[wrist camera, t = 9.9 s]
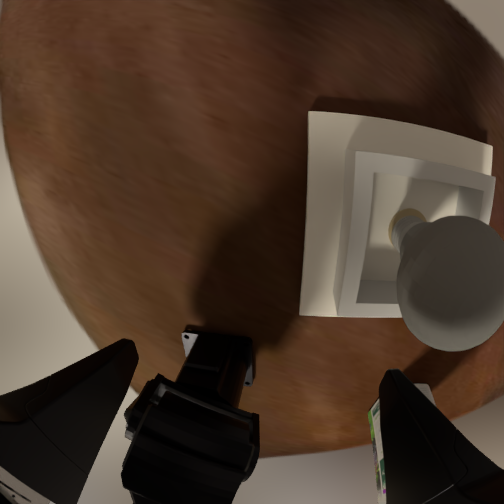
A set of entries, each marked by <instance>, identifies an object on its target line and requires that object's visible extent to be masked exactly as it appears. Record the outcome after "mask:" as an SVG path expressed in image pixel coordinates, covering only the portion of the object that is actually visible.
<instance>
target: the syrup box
mask: <svg viewBox="0 0 504 504" xmlns="http://www.w3.org/2000/svg"><path fill="white" fill-rule="evenodd" d="M414 385H415V386H416V387H417V388H418V389H419V390H420V391H421V392H422V393H423V394H424V395H425V396H426V397H427V398H428V399H429V400H430V401H431V402H432V403H433V404H434V405H435V406H436V404H435V401H434V399H433V396H432V393H431V390H430V388H429V385H428V384H414ZM368 417H369V423H370V430H371V437H372V444H373V453H374V461H375V470H376V481H377V492H378V504H386V486H385V471H384V459H383V449H382V440H381V431H380V406H379V399H378V400H377V401H376V403H375V404H374V406H373V407H372V408H371V410H370V411H369V412H368Z"/></svg>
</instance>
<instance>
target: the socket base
mask: <svg viewBox="0 0 504 504" xmlns="http://www.w3.org/2000/svg"><path fill="white" fill-rule="evenodd" d="M492 149H493V146H490V145H487V144H485V143H482V142H479V141H476V140H472V139H469V138H466V137H463V136H459V135H456V134H452V133H449V132H445V131H441V130H437V129H433V128H429V127H425V126H420V125H415V124H411V123H406V122H400V121H395V120H389V119H383V118H376V117H369V116H361V115H353V114H343V113H332V112H318V111H309V112H308V164H307V198H306V221H305V239H304V255H303V269H302V281H301V293H300V305H299V315H306V316H331V317H402V315H401V311H400V307H399V304H398V300H397V286H396V280H397V272H398V268H399V265H400V262H401V260H400V254H399V252H398V251H397V250H396V249H395V247H394V246H393V244H392V240H391V233H392V229H393V227H394V225H395V224H396V223H397V222H398V220H400V219H401V218H403V217H405V216H416V217H419V218H420V219H421V220H423V221H424V222H433V221H435V220H437V219H439V218H442V217H446V216H468V217H472V218H475V219H478V220H481V221H482V222H484V223H486V224H487V225H489V220H490V215H491V209H492V203H493V196H494V188H495V179H496V177H493V176H491V167H492Z"/></svg>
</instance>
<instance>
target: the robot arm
mask: <svg viewBox="0 0 504 504" xmlns="http://www.w3.org/2000/svg"><path fill="white" fill-rule="evenodd" d="M187 335H188V336H187ZM182 340H183V345H184V349H185V354H186V360H185V362H184V364H183V366H182V368H181V370H180V372H179V374H178V376H177V378H176V381H175V382H173V381H171V380H169V379H167V378H165V377H164V376H163V375H161V374H159V373H158V374H157V376H156V377H155V379H152V380H151V381H147V383H146V385H145V386H144V388H143V390H142V391H141V393H140V395H139V396H138V397H137V398H136V399H135V400H134V401H133V403H132V404H131V405H130V406H129V407H128V408H127V409H126V411H125V413H124V417H125V419H126V422H127V424H126V432H125V437H126V438H128V439H129V440H131V441H132V442H131V444H130V447H129V449H128V452H127V454H126V457H125V459H124V462H123V465H122V467H123V470H122V472H121V478H122V484H123V487H124V488H125V489H127V490H129V491H130V494H131V497H132V500H133V504H232V501H233V499H234V497H235V494H236V492H237V490H238V488H239V486H240V484H241V482H244V481H246V480H247V479H248V478H249V477H250V476H251V474H252V472H253V470H254V468H255V466H256V463H257V460H258V457H259V450H260V436H259V414H256V413H250V412H247V411H244V410H241V409H238V406H239V402H240V398H241V394H242V389H243V386H252V384H253V347H252V340H251V339H250V338H247V337H238V336H229V335H220V334H212V333H204V332H197V331H190V330H185V331H183V333H182ZM244 342H246V343H248V344H246V343H244ZM138 360H139V356H138V353H137V350H136V346H135V343H134V342H133V341H132V340H129V339H125V338H123V339H121V340H119V341H117V342H115V343H113V344H111V345H109V346H107V347H105V348H103V349H101V350H99V351H97V352H95V353H93V354H91V355H90V356H88V357H86V358H84V359H82V360H80V361H78V362H76V363H74V364H72V365H70V366H68V367H66V368H64V369H62V370H60V371H58V372H56V373H54V374H52V375H51V376H48V377H46V378H44V379H41V380H39V381H37V382H35V383H33V384H31V385H28V386H25V387H23V388H20V389H17V390H15V391H12V392H9V393H6V394H3V395H0V504H49V503H50V501H52V502H54V503H55V504H77V502H78V499H79V497H80V495H81V492H82V490H83V487H84V485H85V482H86V480H87V478H88V475H89V473H90V470H91V468H92V466H93V464H94V461H95V459H96V457H97V455H98V452H99V450H100V447H101V446H102V444H103V441H104V439H105V437H106V435H107V432H108V431H109V429H110V426H111V424H112V422H113V420H114V418H115V416H116V414H117V412H118V410H119V407H120V406H121V404H122V401H123V400H124V397H125V395H126V393H127V391H128V388H129V385H130V383H131V380H132V377H133V374H134V372H135V369H136V366H137V364H138ZM379 406H380V431H381V440H382V449H383V459H384V471H385V486H386V504H504V470H503V469H501V468H500V467H498V466H497V465H496V464H495V463H494V462H492V461H491V460H490V459H489V458H488V457H486V456H485V455H484V454H483V453H482V452H481V451H479V450H478V449H477V448H476V447H475V446H474V445H473V444H472V443H471V442H470V441H469V440H468V439H466V437H465V436H464V435H463V434H462V433H461V432H460V431H459V430H458V429H457V430H456V427H455V426H454V425H453V424H452V423H451V422H450V421H449V420H448V419H447V418H446V417H445V416H444V414H443V413H442V412H441V411H440V410H439V409H438V408H437V407H436V406H435V405H434V404H433V403H432V402H431V401H430V400H429V399H428V398H427V397H426V396H425V395H424V394H423V393H422V392H421V391H420V390H419V389H418V388H417V387H416V386H415V385H414V384H413V383H412V382H411V381H410V380H409V379H408V378H407V377H406V376H405V375H404V374H403V373H402V372H401V370H399V369H388V370H387V371H386V373H385V375H384V377H383V379H382V381H381V383H380V386H379Z"/></svg>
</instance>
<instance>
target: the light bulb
mask: <svg viewBox="0 0 504 504" xmlns="http://www.w3.org/2000/svg"><path fill="white" fill-rule="evenodd" d="M391 240H392V244H393V246H394V247H395V249H396V250H397V251H398V252H399V254H400V260H401V262H400V265H399V268H398V272H397V280H396V286H397V300H398V304H399V307H400V311H401V315H402V317H403V319H404V321H405V323H406V325H407V327H408V329H409V330H410V331H411V332H412V333H413V334H414V335H415V336H416V337H417V338H418V339H419V340H420V341H422V342H423V343H425V344H427V345H429V346H431V347H433V348H435V349H440V350H444V351H463V350H467V349H470V348H473V347H475V346H477V345H480V344H481V343H483V342H484V341H486V340H487V339H488V338H490V337H491V336H492V335H493V334H494V333H495V332H496V330H497V329H498V328H499V327H500V325H501V324H502V322H503V321H504V242H503V240H502V239H501V237H500V236H499V235H498V234H497V232H496V231H495V230H494V229H493V228H492V227H490V226H489V225H487V224H486V223H484V222H482V221H481V220H478V219H475V218H472V217H468V216H446V217H442V218H439V219H437V220H435V221H433V222H424V221H423V220H421V219H420V218H419V217H416V216H405V217H403V218H401V219H400V220H398V222H397V223H396V224H395V225H394V227H393V229H392V233H391Z"/></svg>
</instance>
